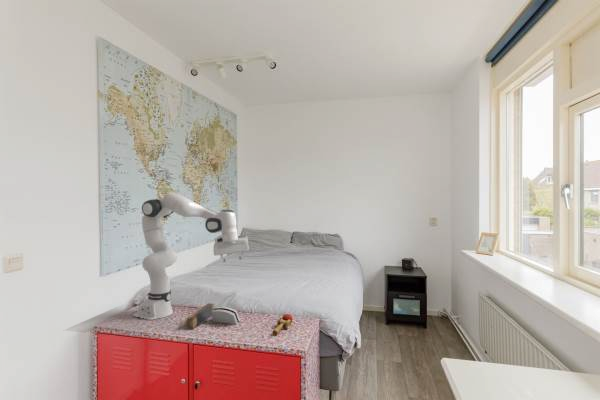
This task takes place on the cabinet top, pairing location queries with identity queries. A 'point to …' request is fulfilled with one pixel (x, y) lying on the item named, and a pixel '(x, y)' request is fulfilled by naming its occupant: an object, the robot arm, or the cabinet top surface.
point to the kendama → (283, 323)
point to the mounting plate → (204, 315)
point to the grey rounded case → (225, 315)
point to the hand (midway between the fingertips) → (232, 260)
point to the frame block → (195, 318)
